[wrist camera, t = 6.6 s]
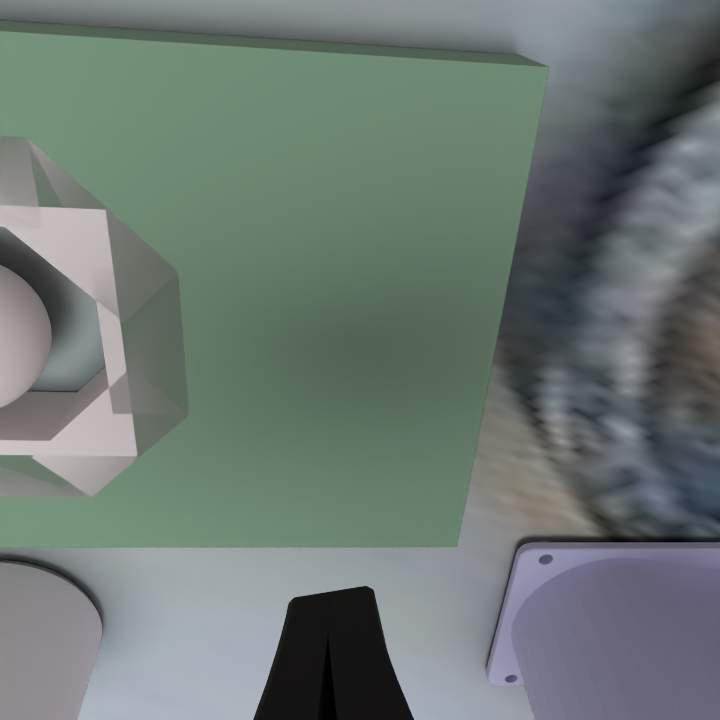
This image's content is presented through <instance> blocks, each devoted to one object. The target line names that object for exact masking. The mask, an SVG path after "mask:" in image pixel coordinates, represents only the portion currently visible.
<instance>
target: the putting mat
mask: <svg viewBox="0 0 720 720" xmlns="http://www.w3.org/2000/svg"><path fill="white" fill-rule="evenodd" d="M549 68H550V67H548V66H545V65H543V64H540V63H538V62H535V61H533V60H530V59H528V58H525V57H523V56H520V55H512V54H497V53H482V52H467V51H453V50H438V49H423V48H408V47H393V46H378V45H363V44H348V43H333V42H318V41H303V40H288V39H273V38H258V37H244V36H229V35H214V34H199V33H184V32H169V31H154V30H139V29H124V28H109V27H94V26H79V25H64V24H49V23H35V22H20V21H5V20H0V227H6V228H7V229H8V230H9V231H11V232H12V233H13V234H14V235H15V236H17V237H18V238H19V239H20V240H22V241H23V242H24V243H25V244H27V245H28V246H29V247H30V248H32V249H33V250H34V251H35V252H37V253H38V254H39V255H40V256H41V257H43V258H44V259H45V260H46V261H48V262H49V263H50V264H51V265H53V266H54V267H55V268H56V269H58V270H59V271H60V272H61V273H63V274H64V275H65V276H66V277H68V278H69V279H70V280H71V281H72V282H74V283H75V284H76V285H77V286H79V287H80V288H81V289H82V290H84V291H85V292H86V293H87V294H89V295H90V296H91V297H92V298H94V299H95V300H96V304H97V310H98V317H99V324H100V331H101V337H102V344H103V351H104V358H105V364H106V366H105V367H104V368H103V369H102V370H101V371H100V372H99V373H97V374H96V375H95V376H94V377H93V378H92V379H91V380H90V381H89V382H88V383H87V384H86V385H84V386H83V387H82V388H81V389H80V390H79V391H78V392H34V391H26V392H25V393H24V394H23V395H22V396H20V397H19V398H17V399H16V400H14V401H13V402H11V403H10V404H8V405H6V406H4V407H1V408H0V548H94V547H457V544H458V539H459V534H460V529H461V524H462V518H463V513H464V508H465V503H466V498H467V492H468V487H469V482H470V477H471V472H472V467H473V461H474V456H475V451H476V446H477V441H478V436H479V430H480V425H481V420H482V415H483V410H484V404H485V399H486V394H487V389H488V384H489V379H490V373H491V368H492V363H493V358H494V353H495V348H496V342H497V337H498V332H499V327H500V322H501V316H502V311H503V306H504V301H505V296H506V291H507V285H508V280H509V275H510V270H511V265H512V259H513V254H514V249H515V244H516V239H517V234H518V228H519V223H520V218H521V213H522V208H523V203H524V197H525V192H526V187H527V182H528V177H529V171H530V166H531V161H532V156H533V151H534V146H535V140H536V135H537V130H538V125H539V120H540V115H541V109H542V104H543V99H544V94H545V89H546V83H547V78H548V73H549Z"/></svg>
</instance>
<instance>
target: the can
mask: <svg viewBox="0 0 720 720" xmlns="http://www.w3.org/2000/svg"><path fill="white" fill-rule="evenodd" d="M101 638H102V623H101V619H100V616H99V614H98V612H97V610H96V608H95V607H94V605H93V603H92V601H91V600H90V598H89V597H88V596H87V594H86V593H85V592H84V591H83V590H82V589H81V588H80V587H79V586H78V585H76V584H75V583H74V582H72V581H71V580H69V579H68V578H66V577H65V576H63V575H61V574H59V573H57V572H55V571H53V570H50V569H48V568H45V567H42V566H39V565H35V564H31V563H27V562H21V561H13V560H0V720H77V718H78V715H79V712H80V709H81V706H82V702H83V699H84V696H85V693H86V689H87V686H88V683H89V680H90V676H91V673H92V670H93V666H94V663H95V660H96V656H97V653H98V649H99V646H100V642H101Z"/></svg>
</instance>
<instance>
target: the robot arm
mask: <svg viewBox="0 0 720 720" xmlns="http://www.w3.org/2000/svg"><path fill="white" fill-rule="evenodd" d="M546 554H547V555H546ZM543 555H545V556H543ZM486 677H487V681H488V682H489V683H490V684H492V685H495V686H512V685H525V688H526V692H527V695H528V698H529V702H530V705H531V708H532V712H533V715H534V718H535V720H720V542H532V543H526V544H524V545H522V546H521V547H520V548H519V549H518V551H517V552H516V556H515V560H514V564H513V568H512V572H511V576H510V580H509V584H508V587H507V591H506V595H505V599H504V603H503V607H502V611H501V615H500V619H499V622H498V626H497V630H496V634H495V638H494V642H493V646H492V650H491V654H490V657H489V661H488V665H487V669H486ZM253 720H414V718H413V716H412V714H411V711H410V709H409V706H408V704H407V702H406V699H405V697H404V694H403V692H402V689H401V687H400V685H399V682H398V680H397V677H396V674H395V672H394V669H393V666H392V664H391V661H390V658H389V655H388V652H387V648H386V643H385V639H384V634H383V630H382V625H381V621H380V616H379V612H378V607H377V603H376V598H375V594H374V590H373V589H371V588H369V587H367V586H363V587H356V588H350V589H344V590H338V591H332V592H326V593H319V594H313V595H307V596H301V597H295V598H293V599H292V600H291V601H290V603H289V605H288V609H287V614H286V618H285V622H284V626H283V630H282V634H281V637H280V641H279V644H278V648H277V651H276V655H275V658H274V661H273V664H272V667H271V670H270V674H269V677H268V680H267V683H266V686H265V689H264V691H263V694H262V697H261V700H260V703H259V705H258V708H257V711H256V714H255V717H254V719H253Z"/></svg>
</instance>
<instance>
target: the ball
mask: <svg viewBox="0 0 720 720" xmlns="http://www.w3.org/2000/svg"><path fill="white" fill-rule="evenodd" d="M51 341H52V334H51V324H50V320H49V317H48V314H47V311H46V309H45V306H44V304H43V302H42V301H41V299H40V297H39V296H38V295H37V293H36V292H35V291H34V290H33V288H32V287H31V286H30V285H29V284H28V283H27V282H26V281H25V280H24V279H22V278H21V277H20V276H18V275H17V274H16V273H14V272H13V271H11V270H9V269H7V268H5V267H4V266H2V265H0V408H1V407H4V406H6V405H8V404H10V403H11V402H13V401H14V400H16V399H17V398H19V397H20V396H22V395H23V394H24V393H25V392H26V391H28V390H29V389H30V388H31V387H32V385H33V384H34V383H35V382H36V381H37V379H38V378H39V376H40V375H41V373H42V372H43V370H44V368H45V366H46V363H47V361H48V357H49V354H50V350H51Z"/></svg>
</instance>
